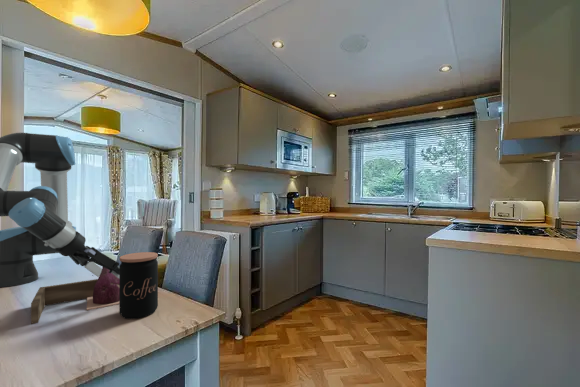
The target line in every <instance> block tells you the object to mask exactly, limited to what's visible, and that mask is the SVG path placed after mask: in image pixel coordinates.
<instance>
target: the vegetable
mask: <svg viewBox="0 0 580 387" xmlns="http://www.w3.org/2000/svg"><path fill="white" fill-rule="evenodd" d="M101 268H102V271H101V274H100V276H99V277H98V278H97V279H98V280H97V282H96V284H95V287H94V291H93V303H94V304H110V303H115V302H118V301H119V278H117V277H116V276H115V275H113V274H112V273H109V271H110V270H108V269H106V268H104V267H102V266H101Z"/></svg>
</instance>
